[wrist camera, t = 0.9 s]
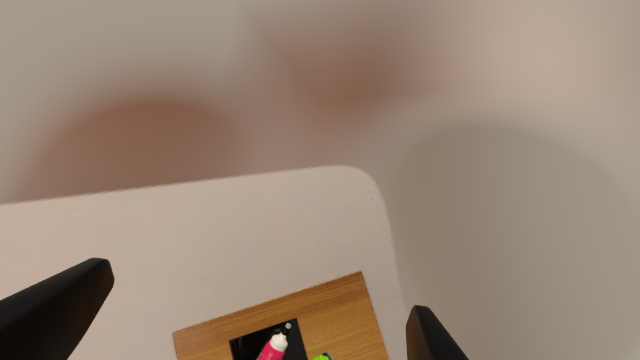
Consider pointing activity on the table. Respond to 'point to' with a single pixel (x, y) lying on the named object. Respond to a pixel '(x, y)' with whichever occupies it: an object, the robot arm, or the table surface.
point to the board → (293, 328)
